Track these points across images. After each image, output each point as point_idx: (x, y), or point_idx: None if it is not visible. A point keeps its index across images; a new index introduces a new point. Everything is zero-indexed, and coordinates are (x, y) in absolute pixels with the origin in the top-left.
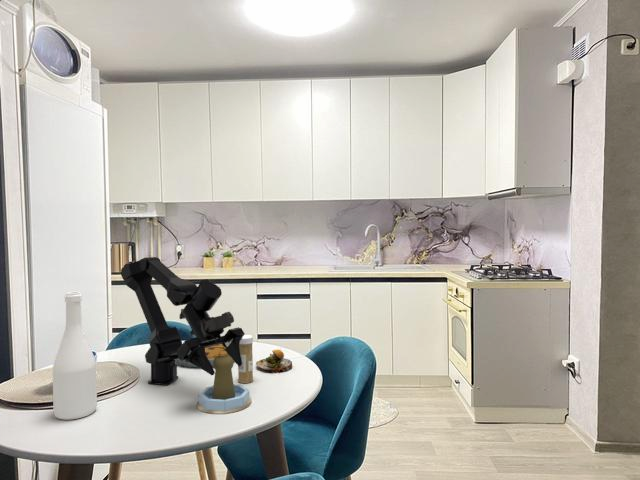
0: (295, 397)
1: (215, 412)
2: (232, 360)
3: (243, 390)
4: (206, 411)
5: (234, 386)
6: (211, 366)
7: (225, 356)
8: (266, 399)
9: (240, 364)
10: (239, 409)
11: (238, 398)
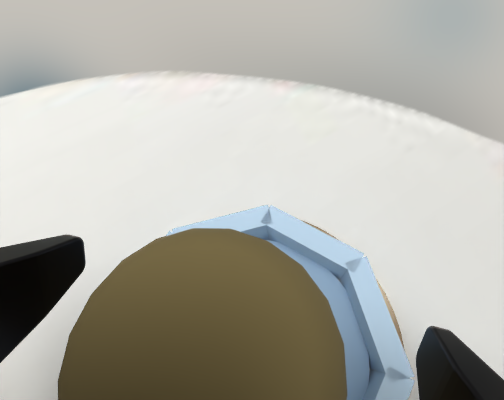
0: (104, 112)
1: (389, 304)
2: (169, 235)
3: None
4: None
5: None
6: (481, 383)
7: (163, 332)
8: (149, 191)
9: (81, 246)
10: (303, 221)
11: (293, 217)
